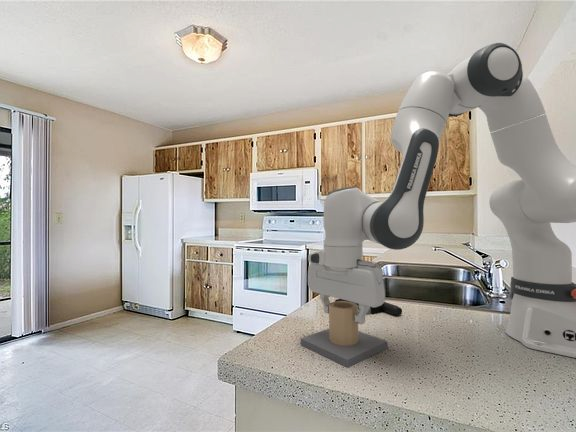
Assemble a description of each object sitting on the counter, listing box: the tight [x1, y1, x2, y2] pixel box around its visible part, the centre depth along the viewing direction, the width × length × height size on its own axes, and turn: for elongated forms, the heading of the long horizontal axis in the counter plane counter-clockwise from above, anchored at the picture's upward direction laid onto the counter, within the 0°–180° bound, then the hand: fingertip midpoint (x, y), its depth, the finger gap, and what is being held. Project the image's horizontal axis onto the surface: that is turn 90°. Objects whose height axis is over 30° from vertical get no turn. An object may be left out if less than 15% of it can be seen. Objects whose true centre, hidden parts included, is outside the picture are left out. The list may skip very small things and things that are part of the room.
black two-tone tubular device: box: [334, 298, 403, 317], centre depth 98 cm, size 3×20×16 cm
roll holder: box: [300, 328, 389, 368], centre depth 71 cm, size 14×14×8 cm
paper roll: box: [328, 300, 359, 346], centre depth 71 cm, size 6×6×8 cm
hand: (343, 317), depth 71 cm, fingers open, 8 cm apart
